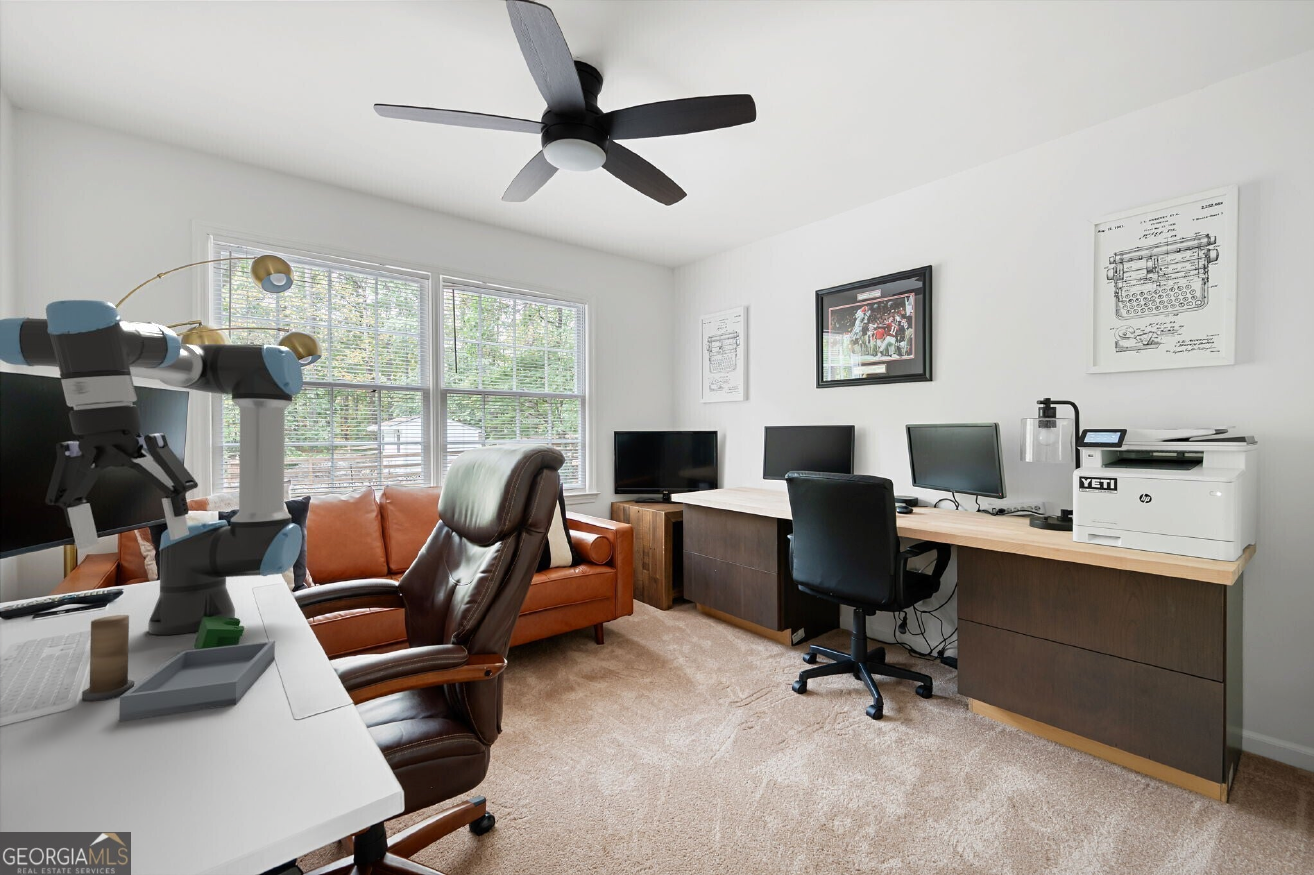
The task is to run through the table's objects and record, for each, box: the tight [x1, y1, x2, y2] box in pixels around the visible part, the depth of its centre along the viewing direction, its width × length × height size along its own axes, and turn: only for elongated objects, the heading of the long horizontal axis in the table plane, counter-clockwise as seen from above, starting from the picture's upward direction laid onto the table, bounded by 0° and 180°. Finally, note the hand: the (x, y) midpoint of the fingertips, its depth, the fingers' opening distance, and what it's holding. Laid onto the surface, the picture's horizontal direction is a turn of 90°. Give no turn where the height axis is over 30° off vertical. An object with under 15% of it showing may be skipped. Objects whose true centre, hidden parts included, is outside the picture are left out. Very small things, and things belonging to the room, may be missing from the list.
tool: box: [81, 614, 135, 703], centre depth 89 cm, size 6×6×12 cm
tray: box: [118, 640, 276, 722], centre depth 91 cm, size 20×14×4 cm
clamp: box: [193, 617, 246, 650], centre depth 109 cm, size 12×6×9 cm, turn 37°
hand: (134, 541), depth 85 cm, fingers open, 13 cm apart
